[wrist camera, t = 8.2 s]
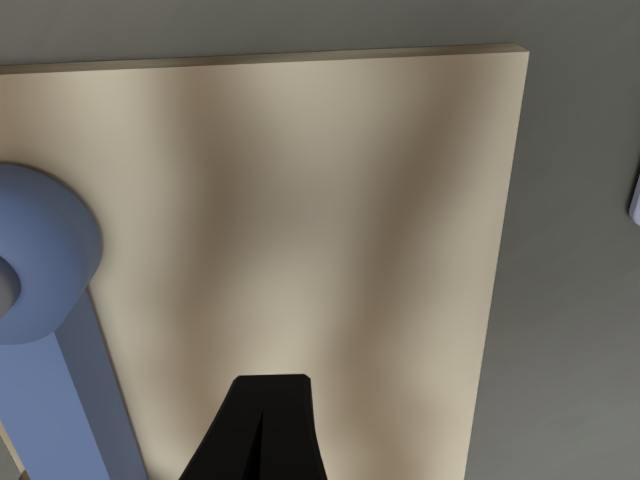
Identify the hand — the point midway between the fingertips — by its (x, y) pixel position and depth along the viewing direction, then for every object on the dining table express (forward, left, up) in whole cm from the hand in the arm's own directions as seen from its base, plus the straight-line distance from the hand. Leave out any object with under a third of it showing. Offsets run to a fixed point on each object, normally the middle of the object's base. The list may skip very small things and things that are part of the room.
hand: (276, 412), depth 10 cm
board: (+3, +5, -9) cm, 11 cm away
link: (+9, +7, -8) cm, 14 cm away
